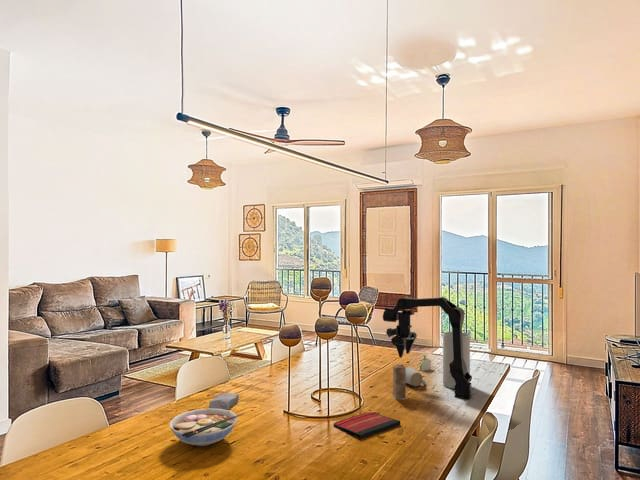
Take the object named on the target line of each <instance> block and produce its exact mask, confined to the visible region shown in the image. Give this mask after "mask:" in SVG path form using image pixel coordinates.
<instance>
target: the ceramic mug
mask: <svg viewBox="0 0 640 480" xmlns="http://www.w3.org/2000/svg"><path fill="white" fill-rule="evenodd" d="M425 383H426V381H425V380H424V379H423V376H422V374H421V373H420V371H417V370H416V369H414V368H412V367H410V366H408V367H406V385H407V384H408V385H409V386H411V387H415V388H417V387H419V386H421V385H425Z"/></svg>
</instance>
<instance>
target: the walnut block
mask: <svg viewBox="0 0 640 480" xmlns="http://www.w3.org/2000/svg"><path fill="white" fill-rule="evenodd" d="M406 368H407V367H406V366H405V365H404V364H393V365H392V369H393V370H392V371H393V372H392V373H393V374H392V376H393V378H392V380H393V381H392V382H393V383H392V385H393V386H392V387H393V389H392V391H393V392H392V393H393V395H392V396H393V398H394V399H395V400H406V393H407V391H406V389H407V388H406V387H407V386H406V385H407V383H406Z"/></svg>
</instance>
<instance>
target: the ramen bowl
mask: <svg viewBox="0 0 640 480" xmlns="http://www.w3.org/2000/svg"><path fill="white" fill-rule="evenodd" d="M241 416H244V412H242V413H240V414H236V413H235V412H233V411H231V410H223V409H212V408H210V407H208V408H199V409H194V410H190V411H185V412H182V413H180V414H179V415H176V416H175V417H173V419H170V421H169V427H170V430H171V432H172V433H173V434H174V435H175V437H177V438H178V439H179V440H180V442H183V443H184V444H187V445H190V446H191V445H192V446H197V447H208V446H210V445H212V444H215V443H218V442H220V441H222V440H223V439H225V438H226V437H227V436H228V435H229V434H230V433H231V432H232V430H233V429H234V427H235V426H236V424H237V422H238V417H241Z"/></svg>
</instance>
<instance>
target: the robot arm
mask: <svg viewBox="0 0 640 480" xmlns="http://www.w3.org/2000/svg"><path fill="white" fill-rule="evenodd" d="M418 307H421V308H422V307H439V308H441V310H443V312H444V313H445V314H446V315H447V316H448V319H449V323H450V326H451V329H452V330H451V332H452V335H453V357H454V359H453V361H452V362H451V363H450V364H449V366H450V372H449V373H451V376H452V377H453V378H454V380H455V383H456V385H455V389H454V397H455V398H458V399H465V400H470V399H471V398H472V397H473V394H472V379H473V376H472V375H471V373H470V374H469V373H468V372H467V368H466V363H465V361H464V358H463V339H462V333H463V325H464V321H465V315H466V313H465V311H464V309H463V308H461V307H459V306H457V305H456V304H454V303H453V302H452V301H450V300H448V299H447V298H446V297H444V296H441V297H427V298H416V297H412V296H411V297H409V296H404V297H400V298H398V300H397V301H396V305H395V307H392V308H390V307H384V311H383V314H382V320H383V322H387V323H388V322H389V323H398V324H397V325H396V327H395V328H391V327H390V328H389V327H388V328H387V329H386V331H385V334H386V336H388V338H391V337H392V338H391V339H390V342H391V344H392V345H394V346H395V348H396V350H397V353H398V356H399V358H401V359H402V358H403V355H404V352H406V354H410V351H411V349H412V347H413V345H414V343H415V342H416V339H417V336H418V335H417V333H416V331H411V328H412V324H411V316H413V315H415V311H413V309H414V308H418ZM469 382H470V383H469Z"/></svg>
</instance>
